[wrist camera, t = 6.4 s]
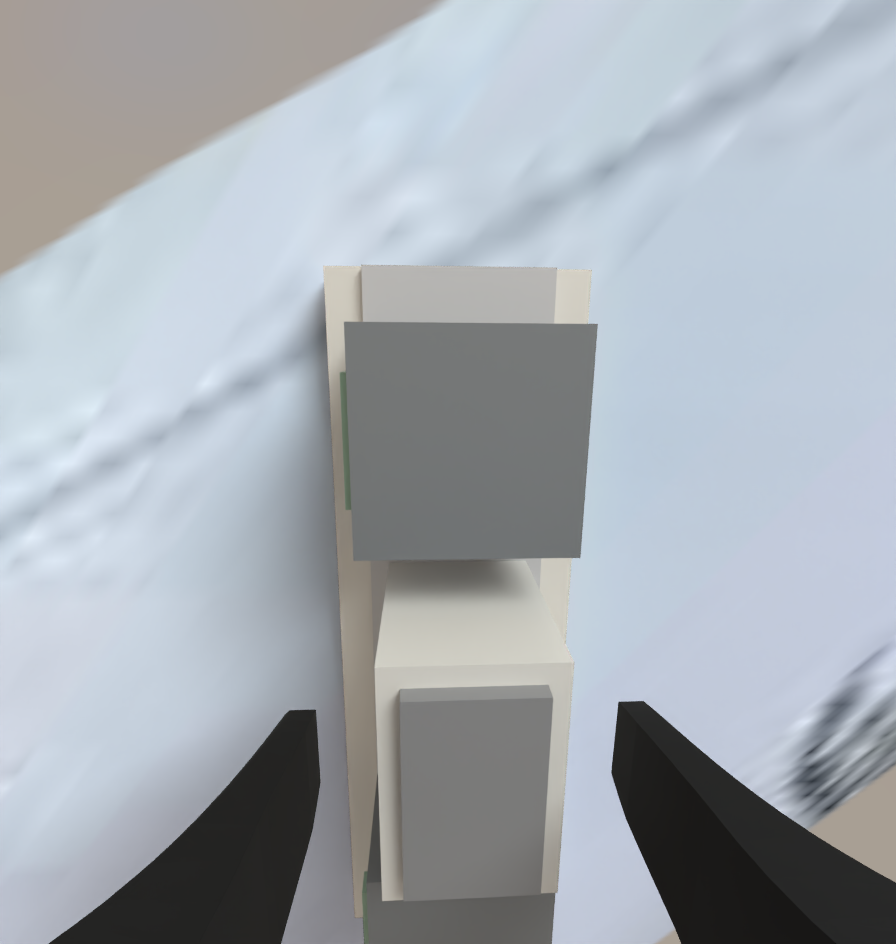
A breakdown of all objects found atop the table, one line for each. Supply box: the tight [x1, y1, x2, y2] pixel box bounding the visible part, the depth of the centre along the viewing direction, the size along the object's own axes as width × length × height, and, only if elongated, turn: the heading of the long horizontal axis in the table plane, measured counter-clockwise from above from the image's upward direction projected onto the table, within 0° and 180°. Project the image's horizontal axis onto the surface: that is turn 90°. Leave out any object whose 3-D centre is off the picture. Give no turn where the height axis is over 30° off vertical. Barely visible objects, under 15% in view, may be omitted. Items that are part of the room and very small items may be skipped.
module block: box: [374, 561, 574, 902], centre depth 13 cm, size 4×6×5 cm, turn 0°
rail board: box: [323, 265, 598, 944], centre depth 15 cm, size 7×22×5 cm, turn 0°
